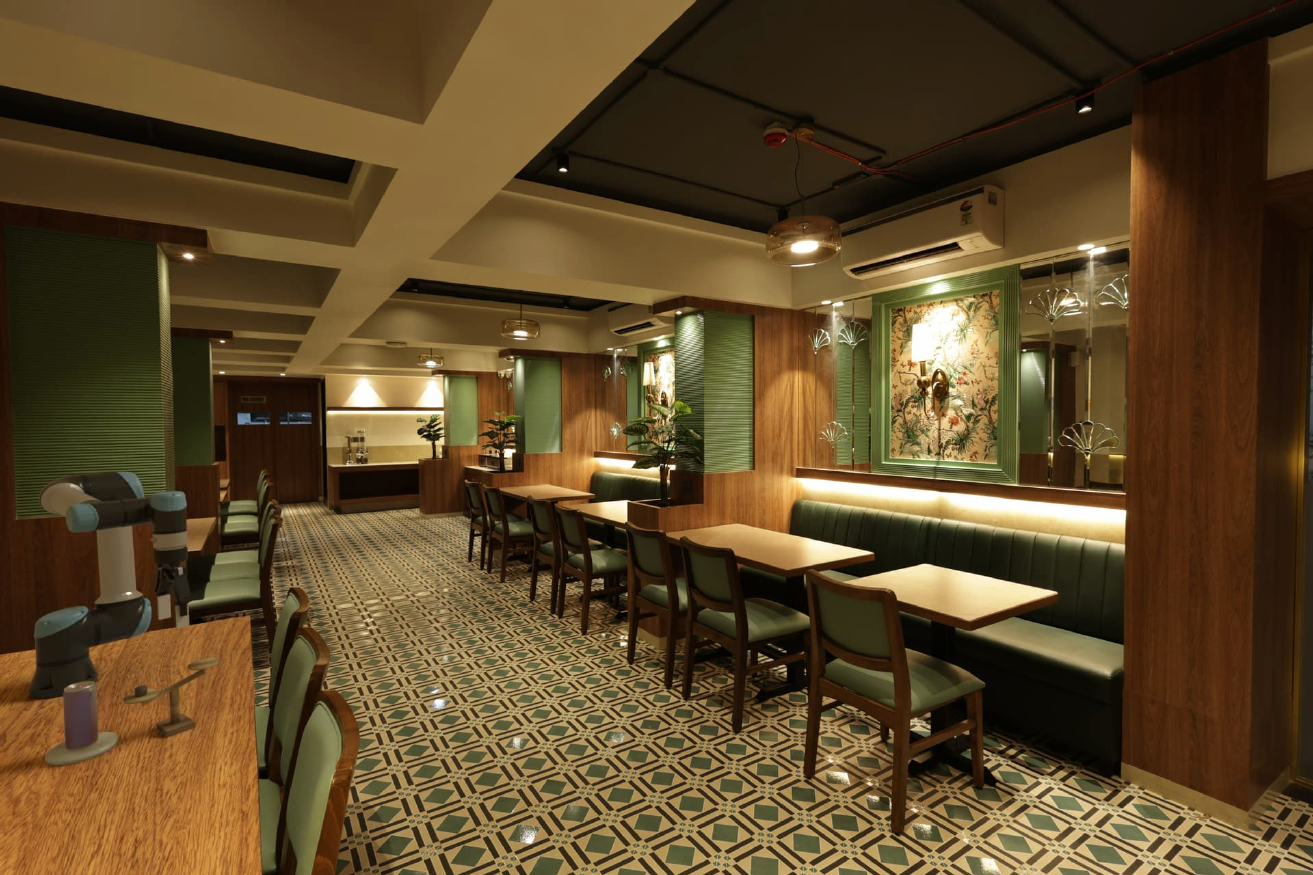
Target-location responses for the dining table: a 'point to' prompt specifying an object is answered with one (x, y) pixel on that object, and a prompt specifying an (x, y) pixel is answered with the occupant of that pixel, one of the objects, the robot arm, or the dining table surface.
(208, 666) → the balance
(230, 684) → the dining table surface
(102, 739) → the dish
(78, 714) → the beverage can
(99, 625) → the robot arm
